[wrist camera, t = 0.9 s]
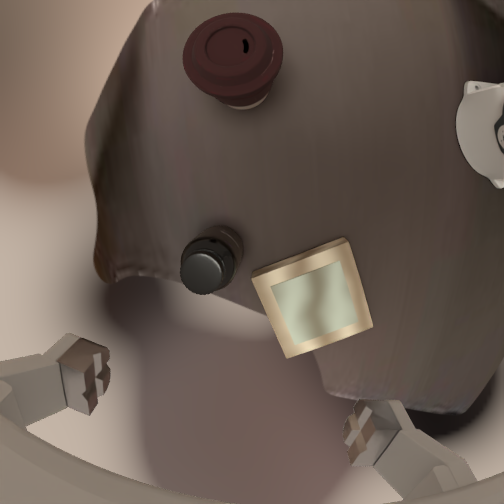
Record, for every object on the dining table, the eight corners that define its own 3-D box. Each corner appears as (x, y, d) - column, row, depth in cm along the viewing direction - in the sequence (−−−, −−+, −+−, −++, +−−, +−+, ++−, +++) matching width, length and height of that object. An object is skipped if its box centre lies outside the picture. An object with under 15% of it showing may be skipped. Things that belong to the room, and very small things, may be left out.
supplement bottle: (246, 227, 43) (237, 248, 31) (241, 273, 44) (230, 308, 33) (198, 221, 43) (172, 240, 31) (194, 267, 45) (170, 299, 33)
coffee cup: (195, 101, 38) (158, 69, 24) (230, 45, 36) (212, -7, 21) (257, 131, 39) (249, 109, 25) (292, 74, 37) (302, 28, 22)
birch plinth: (343, 236, 42) (348, 241, 39) (367, 317, 45) (373, 327, 42) (252, 271, 44) (251, 279, 41) (285, 348, 47) (286, 359, 44)
